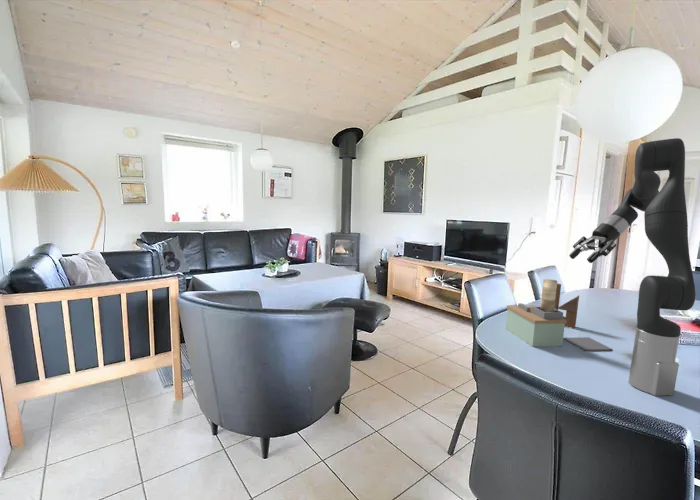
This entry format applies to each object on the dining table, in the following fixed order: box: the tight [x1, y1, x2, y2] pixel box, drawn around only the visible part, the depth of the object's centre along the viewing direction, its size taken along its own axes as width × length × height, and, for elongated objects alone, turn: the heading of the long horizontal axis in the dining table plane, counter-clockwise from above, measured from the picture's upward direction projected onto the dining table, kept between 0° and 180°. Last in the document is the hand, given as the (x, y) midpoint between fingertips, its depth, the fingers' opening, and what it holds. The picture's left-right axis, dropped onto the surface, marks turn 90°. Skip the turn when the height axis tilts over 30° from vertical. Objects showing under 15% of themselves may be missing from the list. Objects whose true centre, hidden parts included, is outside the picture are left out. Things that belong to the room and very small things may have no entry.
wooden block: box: [554, 282, 580, 329], centre depth 151 cm, size 4×11×18 cm, turn 46°
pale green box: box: [505, 303, 567, 348], centre depth 135 cm, size 19×13×13 cm
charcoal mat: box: [563, 336, 613, 352], centre depth 130 cm, size 11×11×1 cm
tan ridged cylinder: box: [539, 278, 558, 312], centre depth 130 cm, size 5×5×14 cm
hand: (579, 259), depth 129 cm, fingers open, 8 cm apart
